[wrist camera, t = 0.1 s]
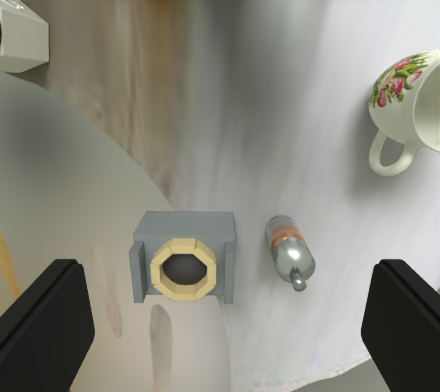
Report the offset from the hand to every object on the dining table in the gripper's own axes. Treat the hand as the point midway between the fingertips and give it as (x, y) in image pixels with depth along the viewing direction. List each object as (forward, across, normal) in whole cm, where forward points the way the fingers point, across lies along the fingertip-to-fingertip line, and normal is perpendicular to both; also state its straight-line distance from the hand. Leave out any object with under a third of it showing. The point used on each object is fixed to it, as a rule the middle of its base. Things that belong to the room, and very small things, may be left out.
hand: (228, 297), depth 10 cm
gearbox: (+37, +5, +18) cm, 41 cm away
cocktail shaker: (+37, -10, +16) cm, 41 cm away
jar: (+37, +27, -12) cm, 47 cm away
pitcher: (+37, -24, -4) cm, 44 cm away
